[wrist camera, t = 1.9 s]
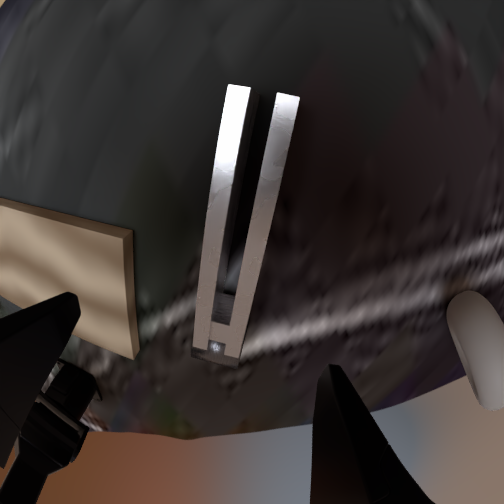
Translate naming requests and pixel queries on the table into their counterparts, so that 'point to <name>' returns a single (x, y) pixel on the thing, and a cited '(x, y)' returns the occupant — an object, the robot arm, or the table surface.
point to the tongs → (224, 217)
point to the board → (71, 270)
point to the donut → (479, 346)
